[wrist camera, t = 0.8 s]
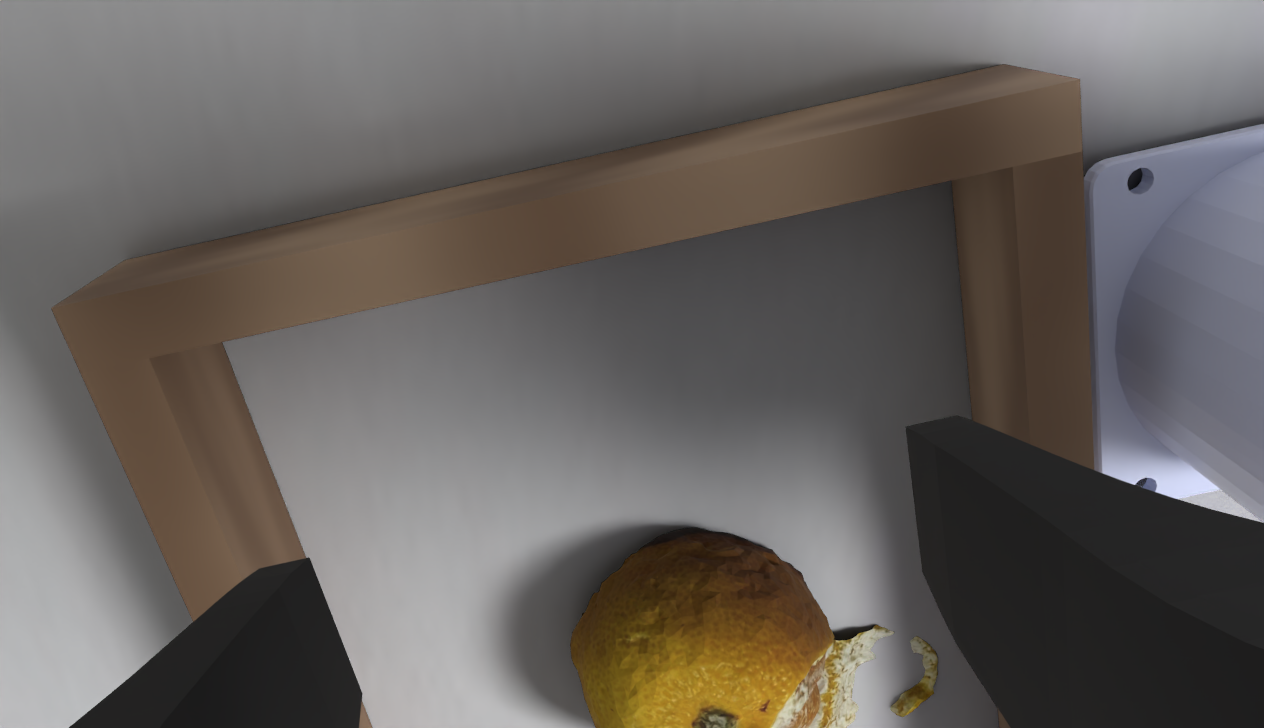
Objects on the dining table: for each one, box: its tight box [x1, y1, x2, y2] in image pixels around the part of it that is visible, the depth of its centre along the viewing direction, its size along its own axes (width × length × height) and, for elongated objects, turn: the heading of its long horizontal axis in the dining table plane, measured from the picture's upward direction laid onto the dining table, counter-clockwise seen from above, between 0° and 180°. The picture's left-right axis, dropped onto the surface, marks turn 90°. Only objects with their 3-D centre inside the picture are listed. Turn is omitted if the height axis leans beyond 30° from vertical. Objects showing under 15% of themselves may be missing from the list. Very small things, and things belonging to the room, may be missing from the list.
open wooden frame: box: [51, 64, 1094, 728], centre depth 21 cm, size 17×18×3 cm
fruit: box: [570, 528, 938, 728], centre depth 22 cm, size 8×8×4 cm
